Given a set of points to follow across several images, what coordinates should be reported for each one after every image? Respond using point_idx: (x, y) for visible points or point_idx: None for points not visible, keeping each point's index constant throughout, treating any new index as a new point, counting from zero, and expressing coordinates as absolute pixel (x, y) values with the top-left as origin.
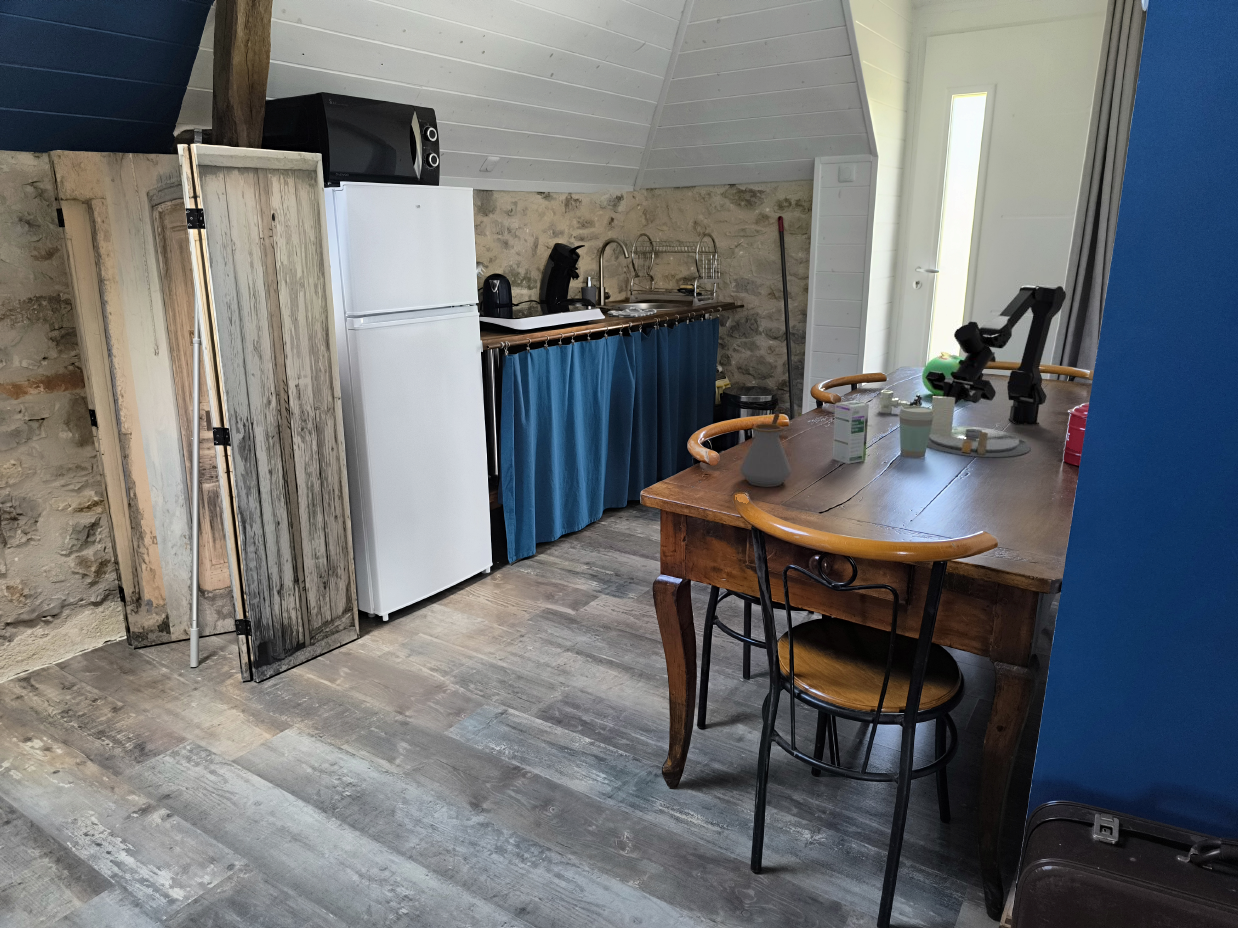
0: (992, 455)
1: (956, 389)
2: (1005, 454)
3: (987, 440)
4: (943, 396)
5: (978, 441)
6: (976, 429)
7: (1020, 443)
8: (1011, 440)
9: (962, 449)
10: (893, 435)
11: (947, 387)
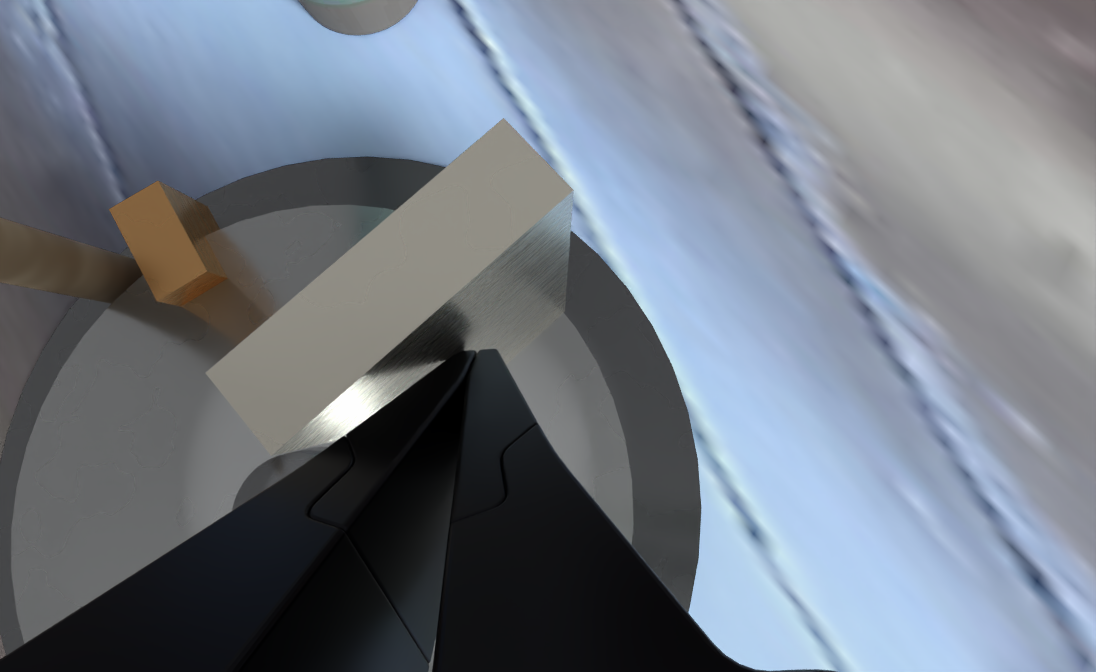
0: (73, 322)
1: (166, 572)
2: (38, 411)
3: (183, 485)
4: (522, 419)
5: (49, 234)
6: None
7: None
8: None
9: (191, 202)
10: (758, 210)
11: (483, 560)
